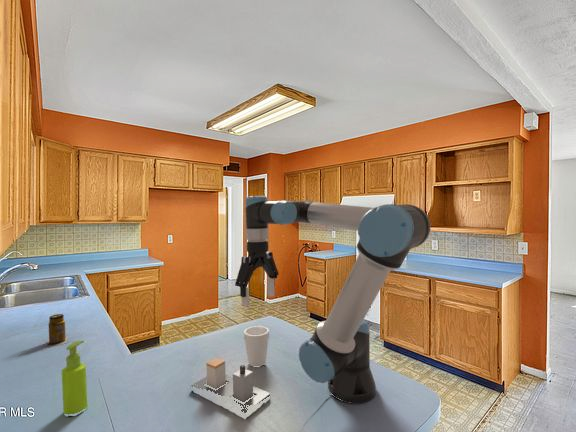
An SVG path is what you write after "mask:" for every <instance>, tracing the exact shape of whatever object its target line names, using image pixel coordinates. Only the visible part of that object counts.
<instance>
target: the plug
mask: <svg viewBox="0 0 576 432" xmlns="http://www.w3.org/2000/svg"><path fill="white" fill-rule="evenodd" d="M225 374H226V360H223V359H221V358H219V357H215V358H213V359H211V360H209V361H207V362H206V377H207V385H209V386H211V387H213V388H215V389H217V388H219V387H220V386H222V385H224V384H226V375H227V374H226V375H225Z"/></svg>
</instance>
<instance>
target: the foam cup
mask: <svg viewBox="0 0 576 432" xmlns="http://www.w3.org/2000/svg"><path fill="white" fill-rule="evenodd" d="M269 339H270V329H269V328H268V327H266V326H263V325H255V326H249V327H247V328H246V329H244V331H243V340H244V342H245V343H244V344H245V351H246V356H247V361H248V365H249V364H250V365H252V366H262V365H264V364H265V363H266V364H267V357H268V356H267V355H268V344H269ZM250 365H249V366H250ZM262 367H263V366H262Z"/></svg>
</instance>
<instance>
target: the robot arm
mask: <svg viewBox="0 0 576 432" xmlns="http://www.w3.org/2000/svg"><path fill="white" fill-rule="evenodd" d="M244 209H245V225H246V226H245V227H246V228H245V229H246V240H247V241H246V251H247V252H248V253H247V254H248V256H242V257H241V260H240V261H241V264H240V267H239V268H238V269H239V270H238V272H237V276H236V281H235V283H234V285H235V287H239V292H240V294H239V295H240V298H241V306H242V307H246V308H249V307H250V290H249V289H250V288H249V286H248V284H249V282H250V280H251V278H252V277H253V274H254V272H255V271H256V270H257V269H258V268H262V269H263V271H264V272H265V273H266V275H267V276H268V277H267V279H266V282H267V284H266V285H267V286H266V287H267V289H266V290H267V296H268V297H273V298H274V297H276V296H275V285H276V284H275V283H276V280H275V279H277V278H278V276H279V273H280V272H279V270H278V268H277V264H276V263H275V262H276V261H275V259H274V254H273V252H272V251H269V241H268V239H269V224H271V225H280V226H283V225H290V224H295V223H303V224H304V223H305V224H312V225H313V224H314V225H317V226H318V225H319V226H325V227H331V228H337V229H345V230H350V231H355V232H356V231H357V235H358V237H359V238H358V242H357V244H356V248H357V251H358V256H357V258H356V260H355V262H354V263H353V265H352V268H351V269H350V271H349V274H348V276H347V278H346V280H345V282H344V284H343V286H342V288H341V290H340V292H339V294H338V296H337V298H336V300H335V302H334V303H333V306H332V307H331V309H330V311H329V314H328V316H327V318H326V320H322V321H320V322H319V323H318V324H317V326H316V327H315V330H314V332H313V334H312V335H311V337H310V339H307V340H304V342H303V343H302V344H301V345H300V346H299V349H298V360H299V361H300V365H301V367H302V369H303V371H304V373H305V374H306V375H307V376H308V377H309V378H310V379H311V380H312V381H314V382H316V383H321V384H325V383H327V390H328V389H329V390H328V391H329V393H330V392H331V393H332V394H333V395H334V396H335V397H337V398H339V399H341V400H343V401H346V402H351V403H350V404H354V403H357V404H364V403H367V402H369V401H371V400H373V399H374V398H375V396H376V394H377V393H376V392H377V391H376V389H377V387H376V386H377V385H376V381H375V379H374V376H373V372H372V370H371V367H370V365H371V364H370V362H371V361H370V357H371V355H370V335H371V333H370V325H369V323H368V322H367V321H366V320H365V318H366V316H367V314H368V312H369V311H370V309H371V307H372V305H373V303H374V301H375V299H376V297H378V295H379V292H380V291H381V289H382V287H383V285H384V283H385V281H387V278H388V276H389V275H390V272H391V271H394V270H399V269H401V266H402V265H403V263H404V261H405V259H406V258H407V256H408V255H409V253H410V251H411V250H412V249H414V248H415V249H416V248H417V247H419V246H421V245H423V244H424V243H425V242H426V241H427V239H428V238H429V236H430V234H431V221H430V219H429V218H430V217H429V216H428V214H427V213H426V212H425V211H424V210H423V209H422V208H420V207H418V206H417V205H413V204H409V203H407V204H393V203H391V204H390V203H387V204H382V205H380V206H379V205H378V206H376V207H371V206H370V207H369V206H360V205H358V206H357V205H351V204H350V205H349V204H337V203H330V202H329V203H327V202H317V201H313V200H277V201H275V200H274V201H268V198H267V196H266V195H255V196H253V195H251V196H247V197H246V198H245V207H244ZM331 393H330V394H331ZM335 397H334V398H335ZM343 401H342V402H343ZM346 402H345V403H346Z"/></svg>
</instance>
